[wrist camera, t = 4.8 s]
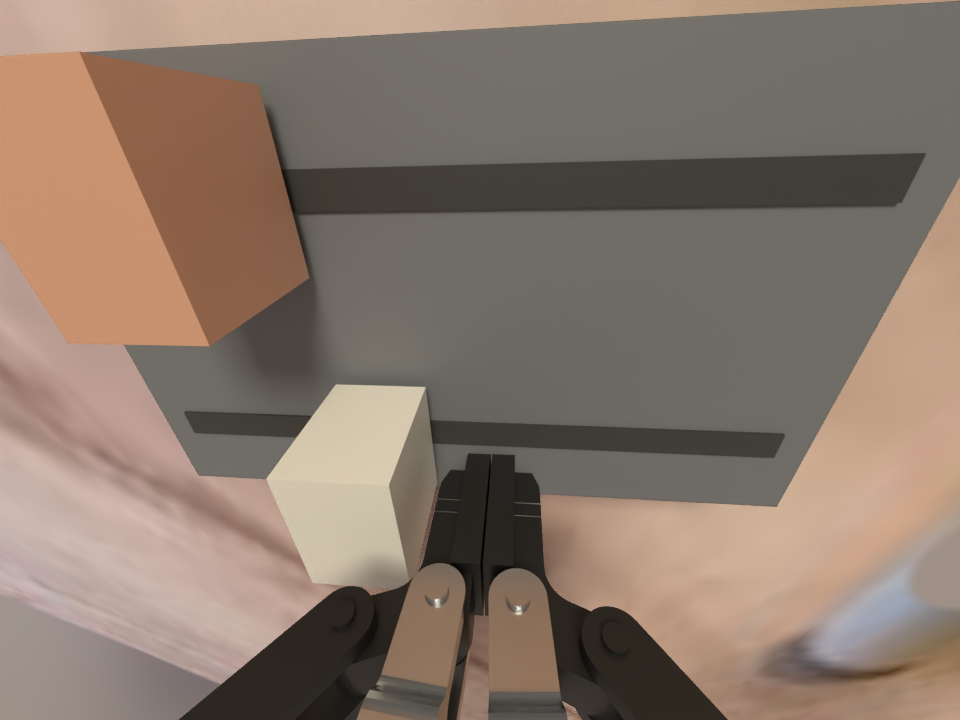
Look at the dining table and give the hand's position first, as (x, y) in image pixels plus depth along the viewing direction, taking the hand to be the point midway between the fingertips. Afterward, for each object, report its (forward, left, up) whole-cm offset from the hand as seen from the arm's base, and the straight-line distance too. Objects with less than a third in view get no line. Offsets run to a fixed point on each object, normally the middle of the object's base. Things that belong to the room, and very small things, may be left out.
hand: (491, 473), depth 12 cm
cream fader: (+4, 0, -1) cm, 4 cm away
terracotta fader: (+7, -8, -1) cm, 11 cm away
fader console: (+1, -4, -5) cm, 6 cm away
